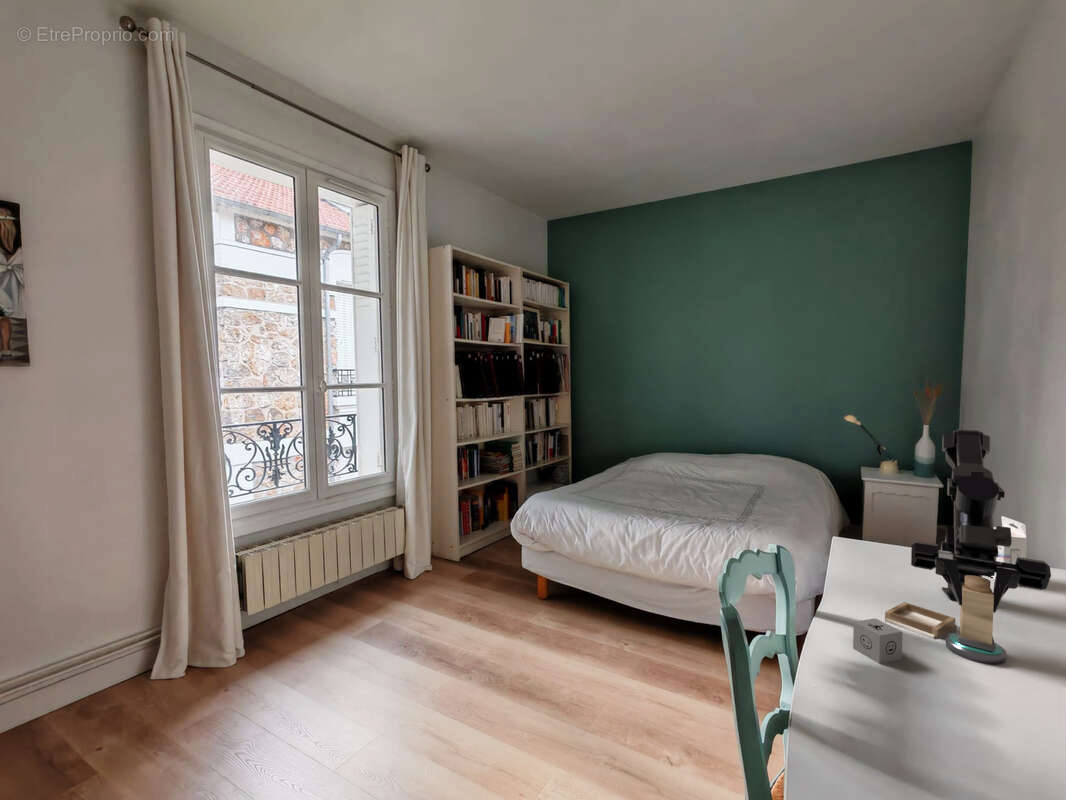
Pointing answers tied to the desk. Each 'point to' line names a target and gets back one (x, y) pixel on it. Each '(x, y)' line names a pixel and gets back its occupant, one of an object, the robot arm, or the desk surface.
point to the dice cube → (877, 640)
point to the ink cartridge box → (1013, 543)
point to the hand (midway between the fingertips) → (977, 607)
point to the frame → (920, 620)
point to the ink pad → (976, 651)
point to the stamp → (976, 613)
